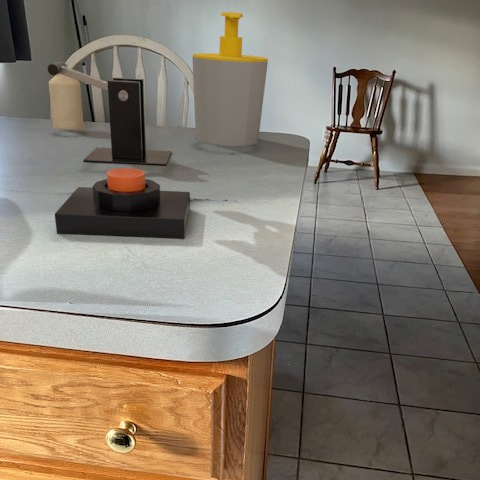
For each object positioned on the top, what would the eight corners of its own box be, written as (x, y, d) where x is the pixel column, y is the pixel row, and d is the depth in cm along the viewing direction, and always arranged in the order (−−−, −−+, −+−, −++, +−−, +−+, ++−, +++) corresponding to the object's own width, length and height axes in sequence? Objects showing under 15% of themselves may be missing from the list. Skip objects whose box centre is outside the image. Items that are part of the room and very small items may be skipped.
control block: (56, 234, 55) (52, 196, 53) (79, 205, 64) (76, 171, 62) (184, 239, 56) (184, 201, 54) (189, 209, 65) (190, 176, 63)
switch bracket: (83, 168, 79) (76, 80, 73) (96, 154, 87) (90, 74, 81) (166, 172, 80) (164, 85, 74) (171, 158, 88) (170, 79, 82)
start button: (104, 193, 56) (103, 176, 56) (111, 183, 60) (110, 167, 59) (143, 195, 57) (142, 178, 56) (147, 184, 60) (147, 169, 59)
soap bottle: (196, 151, 93) (198, 9, 83) (187, 136, 104) (188, 10, 94) (269, 152, 96) (280, 15, 85) (253, 137, 107) (261, 14, 96)
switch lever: (45, 76, 75) (48, 58, 74) (55, 73, 79) (58, 56, 78) (131, 107, 77) (135, 90, 76) (136, 102, 82) (140, 86, 80)
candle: (49, 129, 103) (42, 72, 98) (76, 127, 106) (71, 72, 101) (61, 135, 99) (55, 75, 95) (89, 132, 103) (84, 75, 98)
